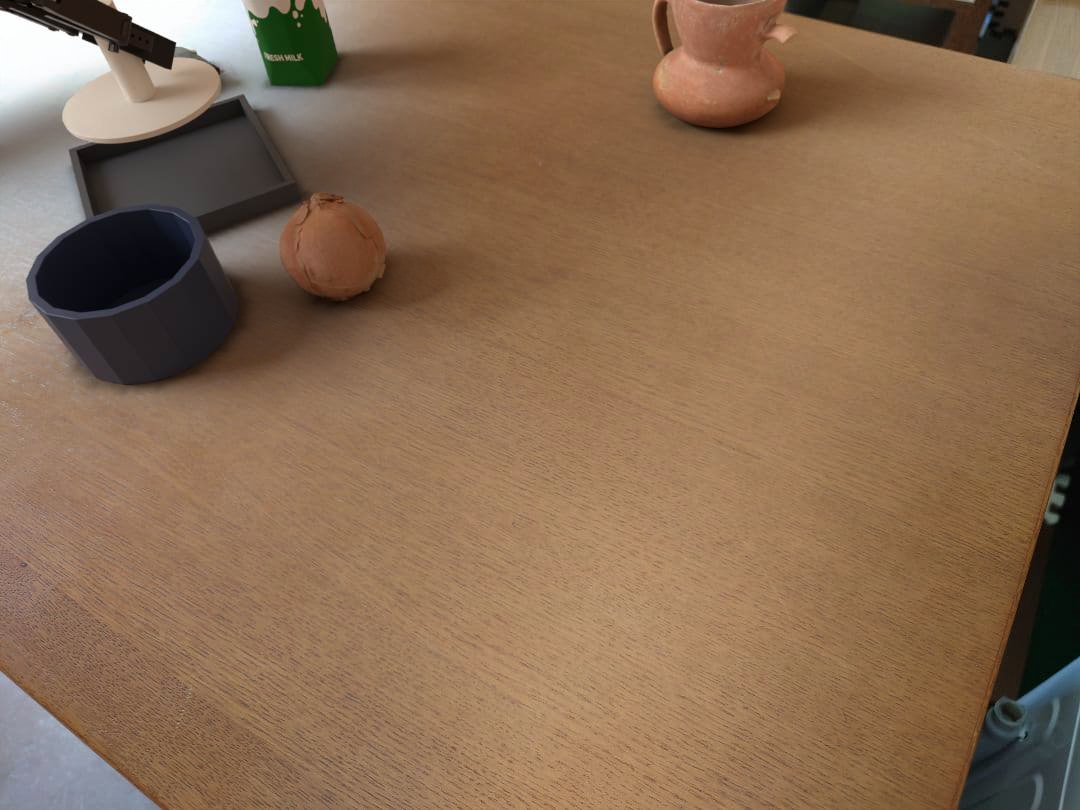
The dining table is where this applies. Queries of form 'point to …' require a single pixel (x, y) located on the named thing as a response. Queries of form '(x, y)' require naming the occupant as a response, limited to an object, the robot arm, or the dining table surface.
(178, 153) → the tray
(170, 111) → the tin lid
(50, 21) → the robot arm
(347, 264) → the onion
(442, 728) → the dining table surface
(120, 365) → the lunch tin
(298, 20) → the milk carton
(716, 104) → the ceramic jug
